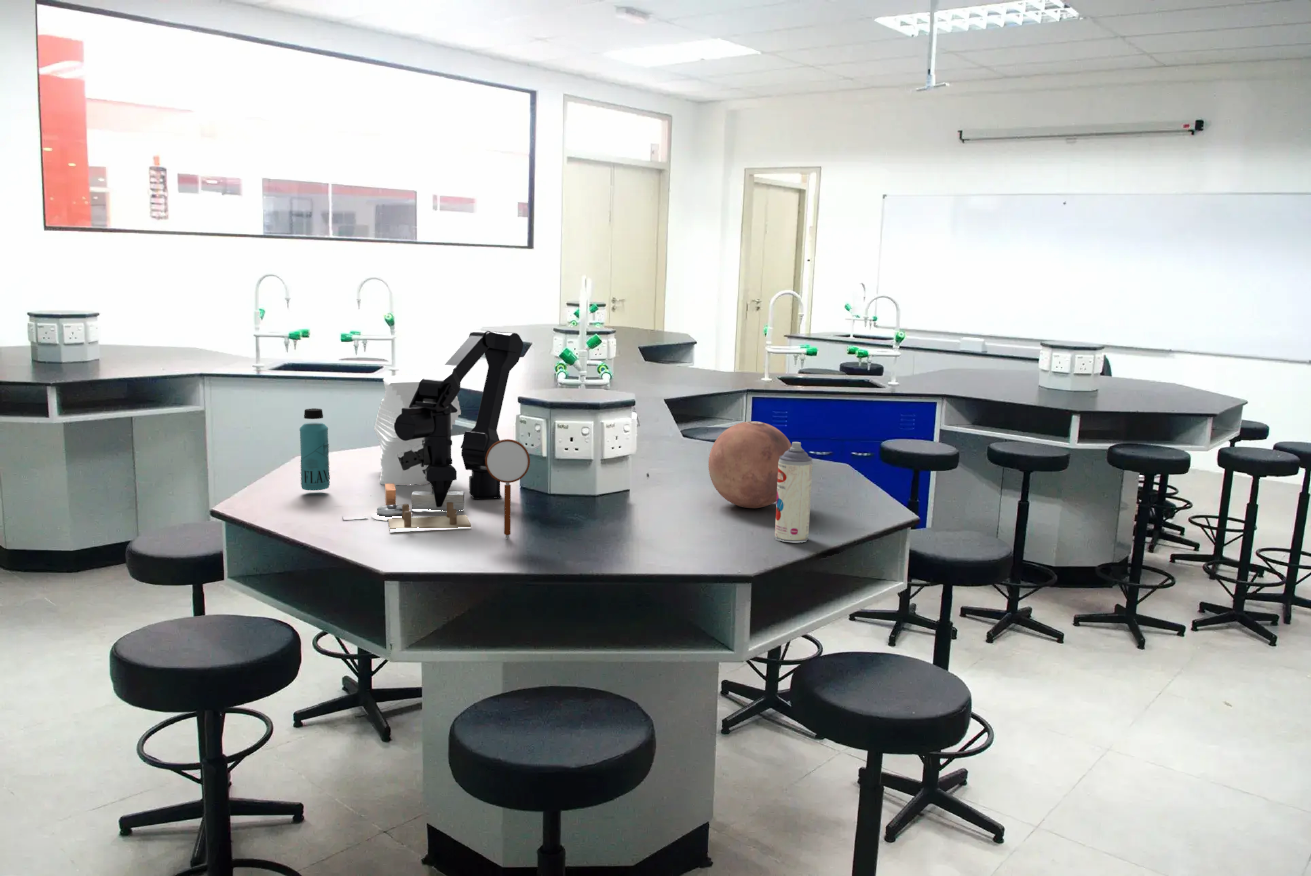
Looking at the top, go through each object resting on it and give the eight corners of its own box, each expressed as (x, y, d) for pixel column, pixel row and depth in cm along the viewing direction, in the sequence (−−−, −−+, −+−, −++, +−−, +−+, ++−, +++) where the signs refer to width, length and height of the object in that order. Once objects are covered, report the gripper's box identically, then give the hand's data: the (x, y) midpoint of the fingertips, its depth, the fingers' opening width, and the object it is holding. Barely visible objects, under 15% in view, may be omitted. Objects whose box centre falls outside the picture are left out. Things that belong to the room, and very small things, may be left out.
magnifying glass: (529, 538, 190) (530, 438, 187) (529, 540, 188) (529, 440, 185) (485, 537, 189) (485, 438, 186) (484, 540, 188) (484, 439, 184)
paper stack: (373, 489, 228) (371, 382, 224) (374, 468, 254) (372, 371, 250) (463, 487, 234) (462, 382, 230) (455, 466, 260) (455, 371, 256)
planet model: (799, 501, 229) (803, 418, 226) (787, 521, 210) (792, 431, 207) (716, 494, 234) (720, 413, 231) (698, 512, 215) (701, 424, 212)
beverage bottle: (299, 497, 219) (296, 410, 215) (302, 491, 225) (299, 406, 222) (329, 496, 220) (327, 410, 217) (331, 490, 227) (329, 406, 223)
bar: (464, 508, 213) (464, 491, 212) (463, 512, 210) (463, 494, 209) (413, 509, 211) (413, 491, 211) (411, 512, 208) (411, 494, 208)
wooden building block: (403, 502, 214) (403, 483, 214) (407, 516, 202) (406, 495, 201) (375, 503, 212) (375, 484, 212) (377, 517, 200) (377, 497, 200)
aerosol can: (772, 534, 198) (777, 439, 195) (805, 535, 198) (811, 440, 195) (776, 543, 191) (781, 444, 188) (810, 544, 191) (816, 445, 188)
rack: (466, 519, 203) (466, 501, 202) (471, 529, 196) (471, 510, 195) (388, 523, 198) (387, 504, 198) (390, 533, 191) (389, 513, 190)
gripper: (396, 428, 214) (398, 497, 217) (401, 442, 196) (402, 516, 199) (447, 427, 217) (448, 494, 220) (456, 441, 200) (457, 514, 202)
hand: (438, 504), depth 210 cm, fingers closed on bar, 4 cm apart
